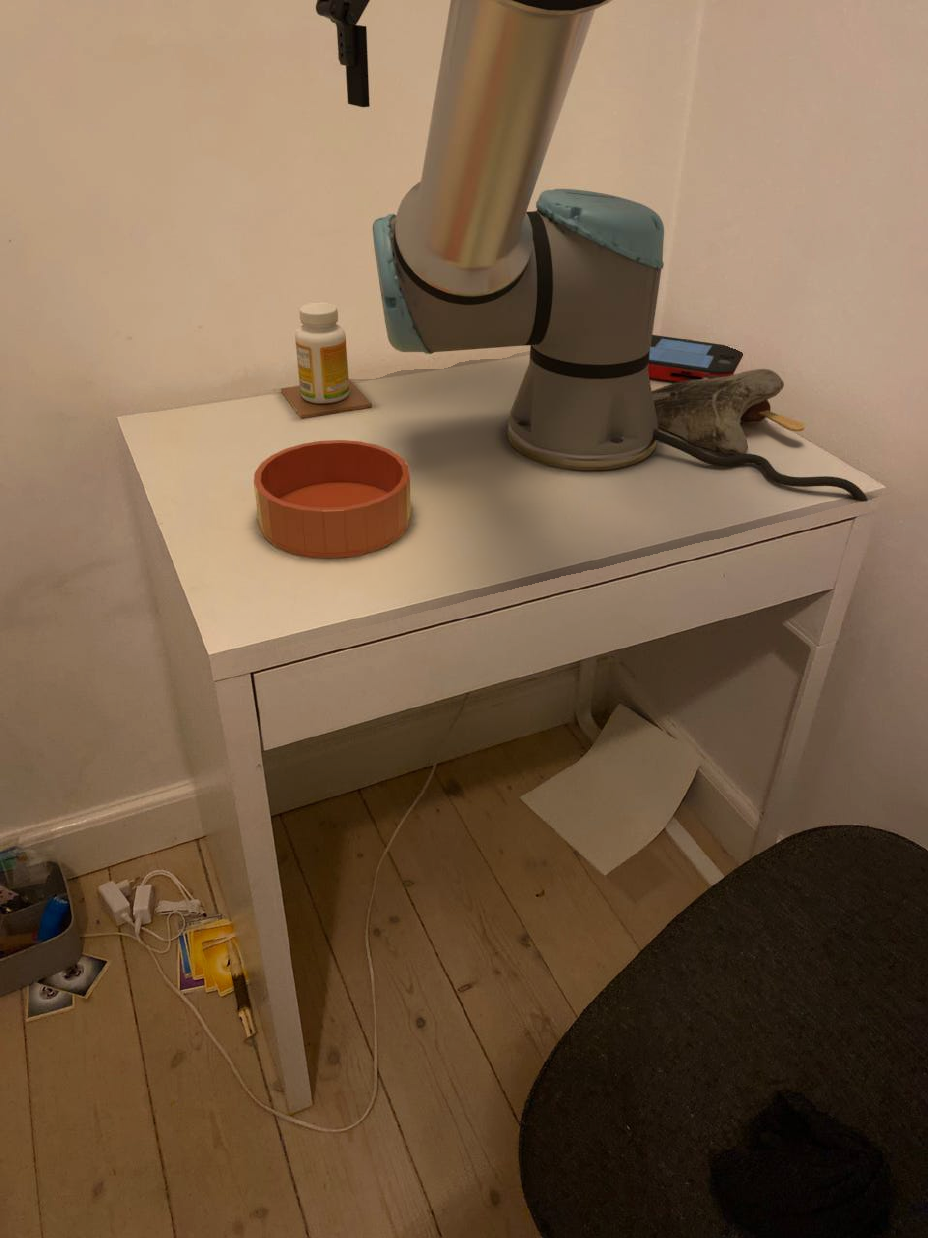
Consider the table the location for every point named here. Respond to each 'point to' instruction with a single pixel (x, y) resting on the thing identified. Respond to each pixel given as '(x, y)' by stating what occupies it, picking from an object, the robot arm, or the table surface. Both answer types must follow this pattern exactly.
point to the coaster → (313, 409)
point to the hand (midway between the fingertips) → (417, 100)
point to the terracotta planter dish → (333, 498)
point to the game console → (690, 359)
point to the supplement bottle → (321, 354)
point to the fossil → (714, 407)
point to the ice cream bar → (765, 414)
